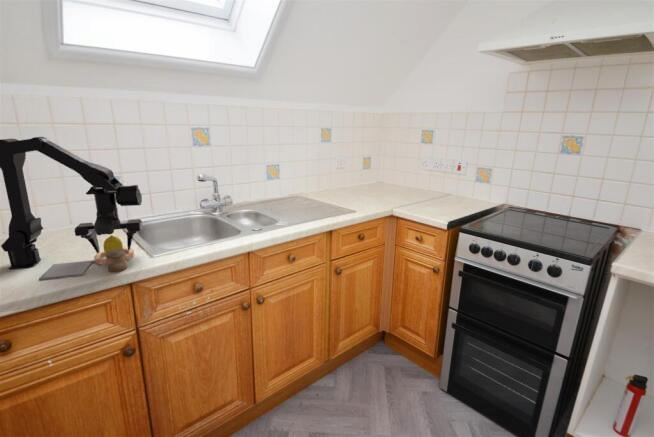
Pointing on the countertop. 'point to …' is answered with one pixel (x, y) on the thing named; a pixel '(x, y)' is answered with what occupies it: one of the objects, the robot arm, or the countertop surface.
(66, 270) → the slate coaster
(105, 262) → the c ring
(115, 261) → the walnut salt pot
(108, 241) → the lemon
